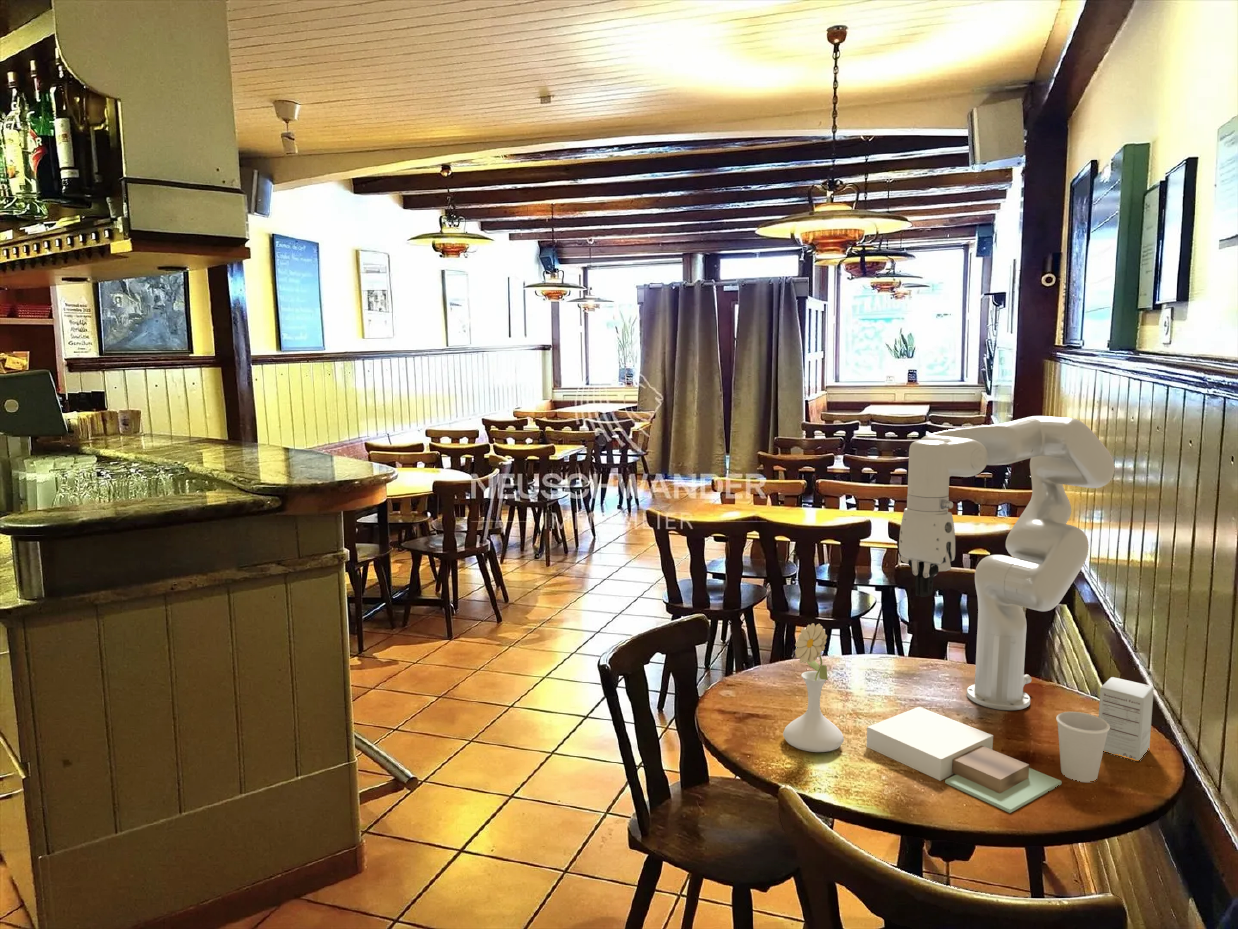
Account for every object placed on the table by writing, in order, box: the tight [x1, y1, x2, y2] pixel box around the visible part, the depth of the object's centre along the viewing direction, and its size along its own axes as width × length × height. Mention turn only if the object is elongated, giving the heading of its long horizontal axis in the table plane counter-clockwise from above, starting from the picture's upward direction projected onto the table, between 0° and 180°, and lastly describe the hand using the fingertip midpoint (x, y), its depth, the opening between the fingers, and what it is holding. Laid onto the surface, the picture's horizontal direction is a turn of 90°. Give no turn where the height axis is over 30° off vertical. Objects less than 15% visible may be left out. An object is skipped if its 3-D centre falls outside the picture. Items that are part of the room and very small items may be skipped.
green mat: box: [944, 767, 1062, 814], centre depth 148 cm, size 16×12×1 cm
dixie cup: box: [1055, 711, 1110, 783], centre depth 150 cm, size 8×8×10 cm
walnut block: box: [952, 746, 1030, 794], centre depth 150 cm, size 9×9×2 cm
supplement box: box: [1097, 676, 1155, 761], centre depth 159 cm, size 7×7×13 cm
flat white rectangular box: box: [866, 706, 994, 782], centre depth 160 cm, size 16×16×4 cm
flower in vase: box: [782, 623, 845, 753], centre depth 161 cm, size 13×11×25 cm
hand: (923, 595), depth 168 cm, fingers closed
